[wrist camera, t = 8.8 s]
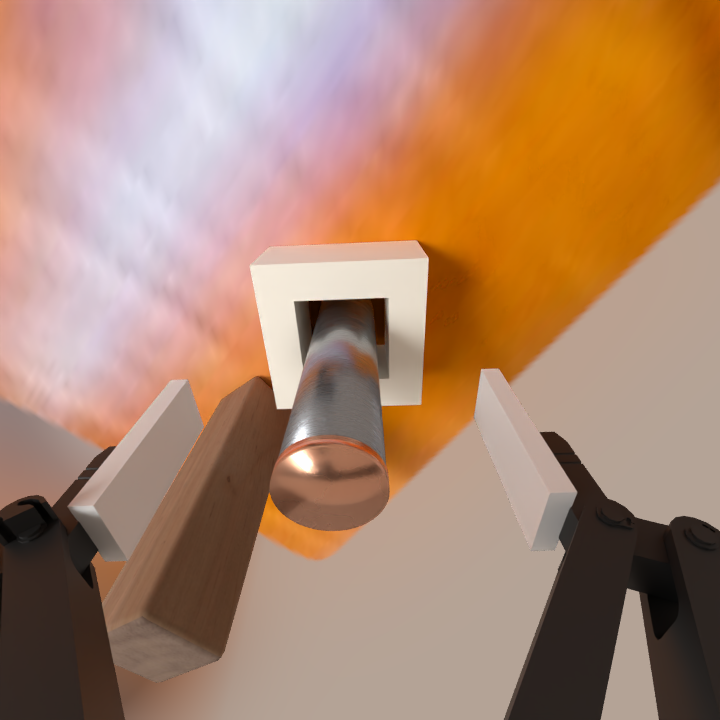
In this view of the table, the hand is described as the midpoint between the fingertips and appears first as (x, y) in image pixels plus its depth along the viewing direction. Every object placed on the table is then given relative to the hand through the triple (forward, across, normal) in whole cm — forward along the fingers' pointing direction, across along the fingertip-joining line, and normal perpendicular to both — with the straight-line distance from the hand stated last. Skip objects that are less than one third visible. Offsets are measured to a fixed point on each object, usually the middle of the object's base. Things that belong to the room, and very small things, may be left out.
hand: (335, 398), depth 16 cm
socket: (+12, 0, -1) cm, 12 cm away
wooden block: (+12, -7, -11) cm, 17 cm away
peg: (+12, 0, -1) cm, 12 cm away
